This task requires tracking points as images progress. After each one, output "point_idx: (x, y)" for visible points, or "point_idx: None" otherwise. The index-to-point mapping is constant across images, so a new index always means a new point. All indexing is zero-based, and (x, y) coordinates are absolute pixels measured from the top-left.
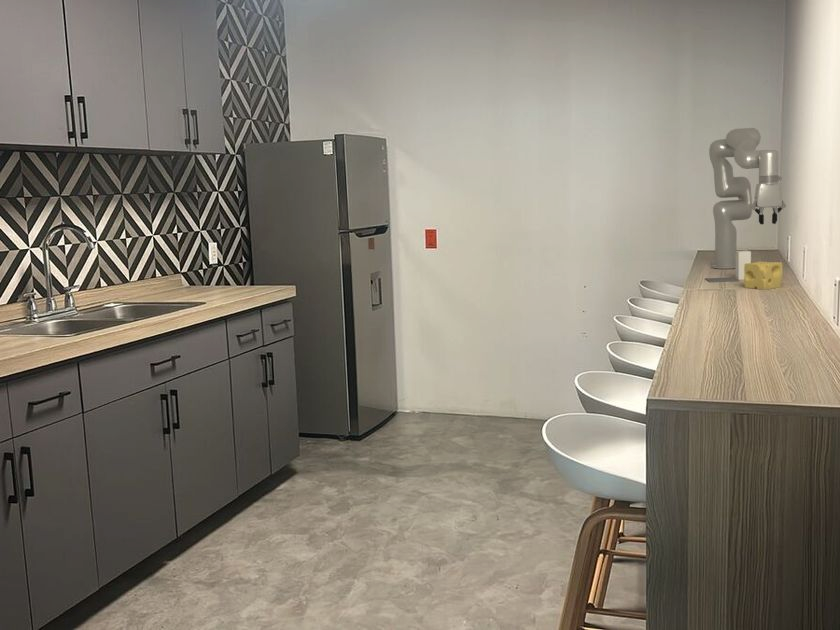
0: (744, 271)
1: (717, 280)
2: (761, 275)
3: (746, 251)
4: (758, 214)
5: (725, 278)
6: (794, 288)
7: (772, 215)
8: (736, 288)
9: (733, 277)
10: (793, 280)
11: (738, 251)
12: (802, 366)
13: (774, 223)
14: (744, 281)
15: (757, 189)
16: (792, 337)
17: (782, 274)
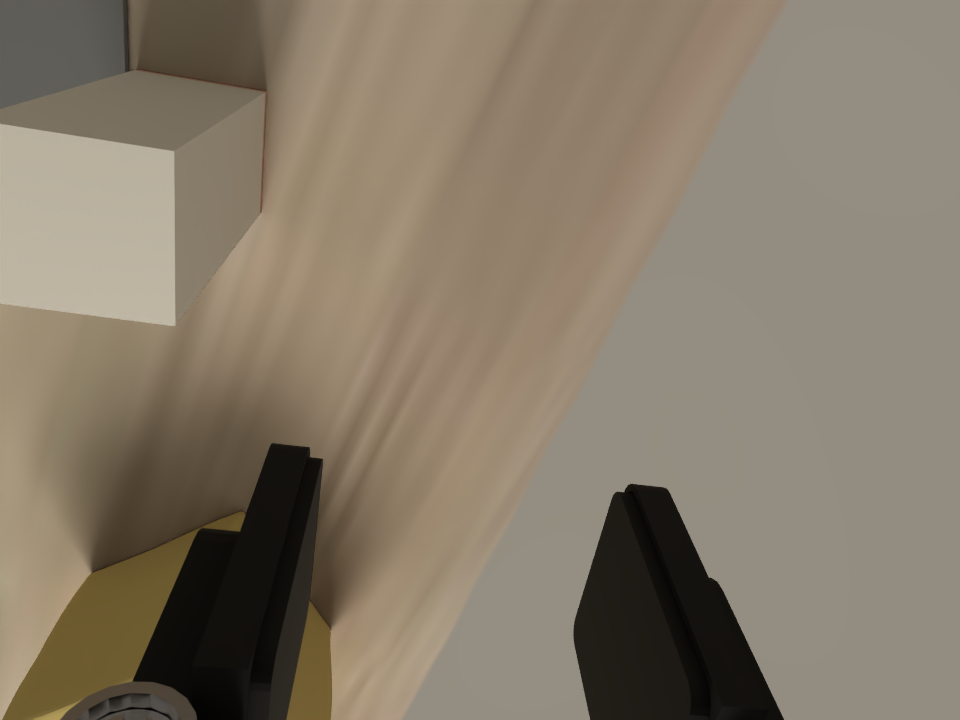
0: (30, 672)
1: None
2: None
3: (123, 263)
4: (105, 700)
5: (15, 70)
6: (388, 689)
7: (669, 696)
8: (24, 583)
9: (118, 31)
10: (571, 393)
11: (4, 200)
12: None
13: (582, 629)
14: (68, 608)
15: None
16: None
17: (330, 707)
